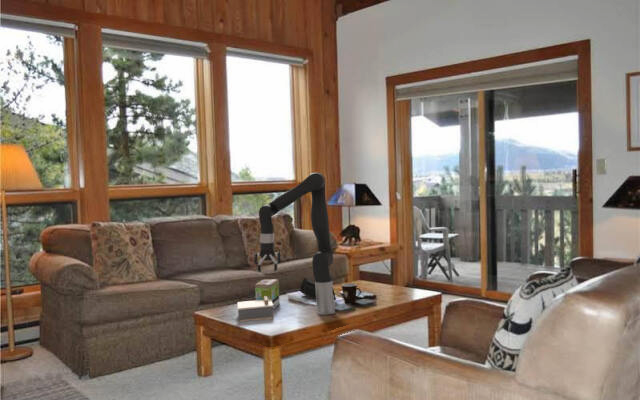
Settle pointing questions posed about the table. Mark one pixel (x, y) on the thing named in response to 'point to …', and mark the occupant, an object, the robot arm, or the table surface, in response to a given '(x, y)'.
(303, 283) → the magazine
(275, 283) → the tea box
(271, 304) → the lid
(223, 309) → the table surface
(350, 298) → the coffee mug
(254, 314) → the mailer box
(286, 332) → the table surface
